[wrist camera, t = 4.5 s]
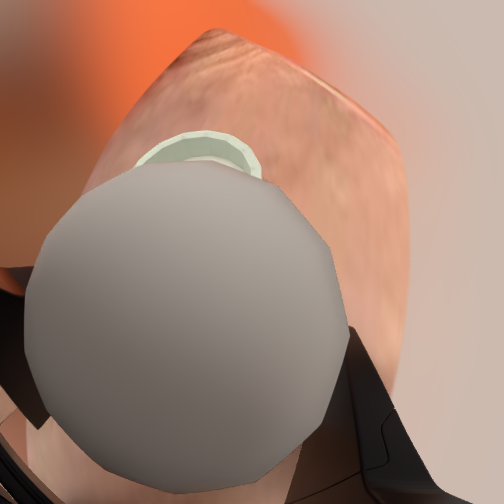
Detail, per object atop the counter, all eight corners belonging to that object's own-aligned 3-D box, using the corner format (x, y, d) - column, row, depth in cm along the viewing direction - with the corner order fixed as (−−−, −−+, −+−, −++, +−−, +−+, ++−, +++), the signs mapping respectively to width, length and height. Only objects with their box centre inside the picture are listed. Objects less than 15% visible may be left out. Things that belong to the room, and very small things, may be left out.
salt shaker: (280, 278, 15) (289, 52, 3) (319, 370, 13) (502, 434, 1) (185, 314, 15) (-14, 201, 3) (219, 407, 13) (52, 538, 1)
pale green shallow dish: (152, 289, 16) (133, 279, 13) (129, 183, 19) (115, 164, 16) (286, 234, 16) (288, 215, 14) (235, 139, 19) (231, 115, 17)
